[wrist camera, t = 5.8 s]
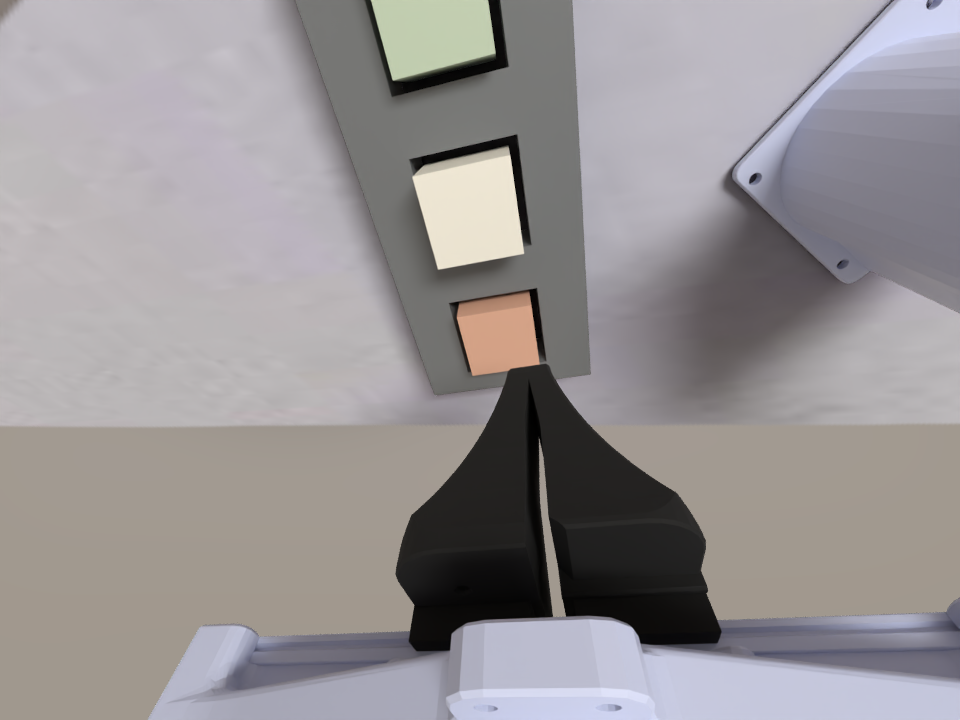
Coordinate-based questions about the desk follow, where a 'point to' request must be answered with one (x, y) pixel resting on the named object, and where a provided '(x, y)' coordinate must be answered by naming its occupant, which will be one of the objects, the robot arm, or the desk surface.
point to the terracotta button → (498, 332)
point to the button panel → (453, 124)
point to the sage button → (434, 36)
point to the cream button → (470, 208)
